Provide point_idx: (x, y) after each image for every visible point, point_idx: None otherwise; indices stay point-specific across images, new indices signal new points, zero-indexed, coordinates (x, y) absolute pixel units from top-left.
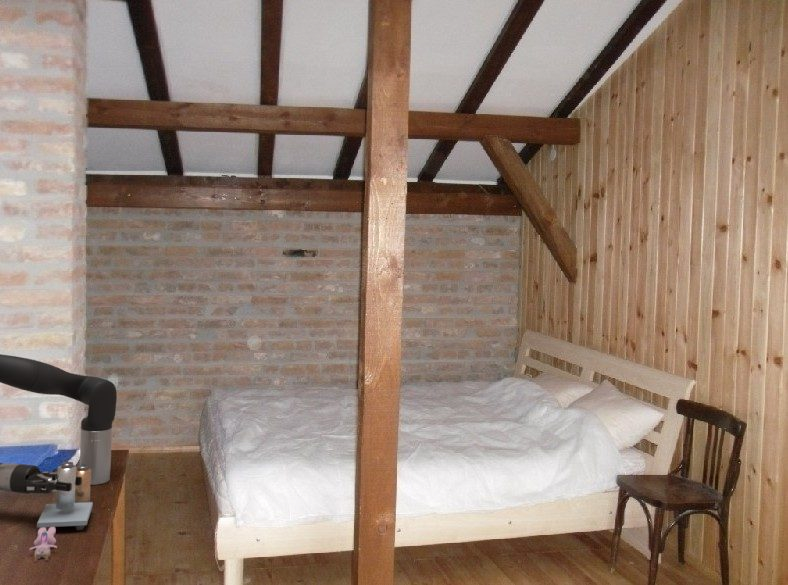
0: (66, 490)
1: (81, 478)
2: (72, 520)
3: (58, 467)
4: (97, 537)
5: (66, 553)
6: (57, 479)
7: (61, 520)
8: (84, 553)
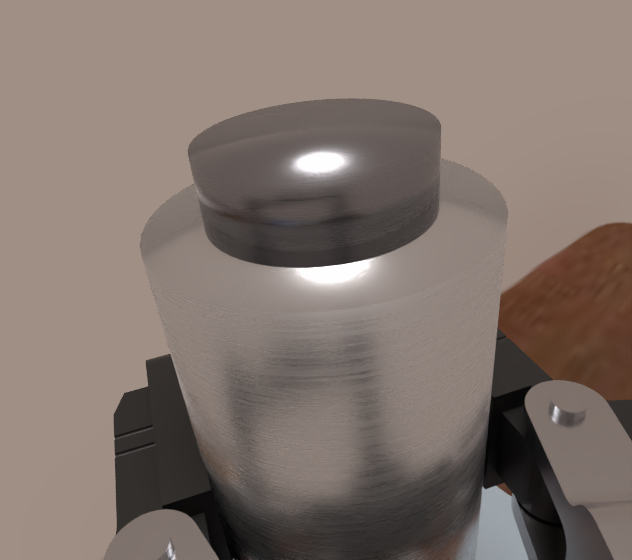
0: None
1: (160, 360)
2: None
3: (470, 252)
4: None
5: (605, 351)
6: (483, 438)
7: (507, 526)
8: (535, 312)
